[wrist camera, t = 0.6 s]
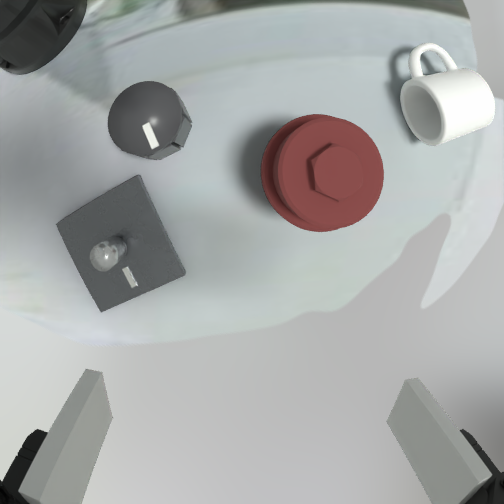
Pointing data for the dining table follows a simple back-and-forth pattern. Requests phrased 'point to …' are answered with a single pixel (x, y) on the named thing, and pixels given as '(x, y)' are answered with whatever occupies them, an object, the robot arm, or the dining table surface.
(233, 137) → the dining table surface
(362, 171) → the mechanical component
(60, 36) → the robot arm
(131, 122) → the knob
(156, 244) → the metal plate
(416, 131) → the mug
